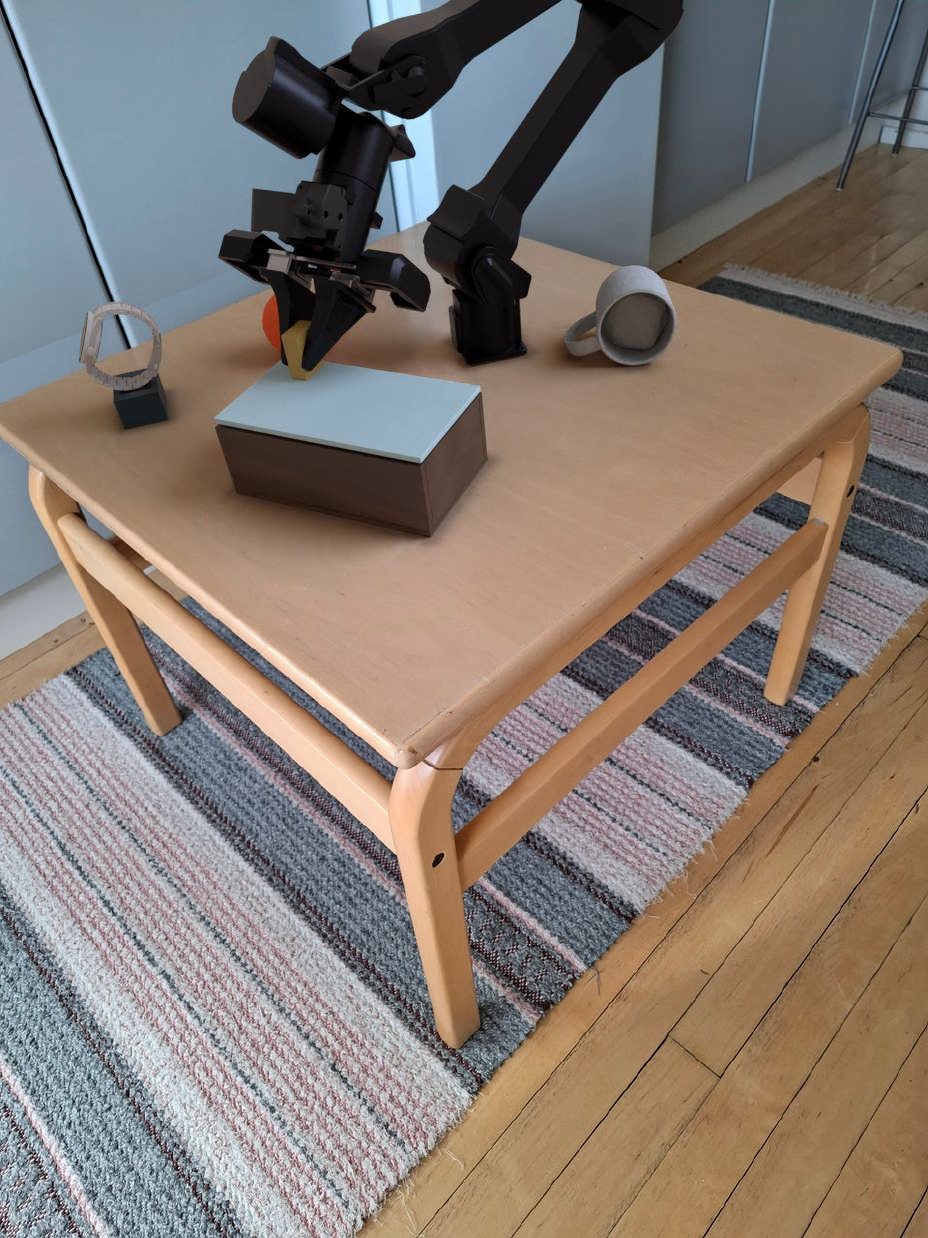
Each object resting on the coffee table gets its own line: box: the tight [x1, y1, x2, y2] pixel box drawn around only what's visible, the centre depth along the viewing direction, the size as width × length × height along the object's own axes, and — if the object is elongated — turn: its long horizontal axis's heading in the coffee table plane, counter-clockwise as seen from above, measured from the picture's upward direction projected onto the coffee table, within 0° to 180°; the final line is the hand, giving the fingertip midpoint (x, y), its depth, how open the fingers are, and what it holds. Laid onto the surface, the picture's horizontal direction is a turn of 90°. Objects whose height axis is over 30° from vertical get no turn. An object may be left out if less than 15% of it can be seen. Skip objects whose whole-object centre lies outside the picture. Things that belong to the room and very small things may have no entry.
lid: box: [213, 320, 482, 463], centre depth 74 cm, size 11×19×4 cm, turn 65°
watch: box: [78, 301, 169, 430], centre depth 88 cm, size 6×8×11 cm
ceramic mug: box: [563, 264, 678, 366], centre depth 90 cm, size 11×8×8 cm
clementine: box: [261, 293, 281, 353], centre depth 95 cm, size 8×7×7 cm
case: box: [214, 391, 489, 538], centre depth 78 cm, size 11×19×7 cm, turn 65°
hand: (296, 367), depth 78 cm, fingers closed on lid, 2 cm apart
